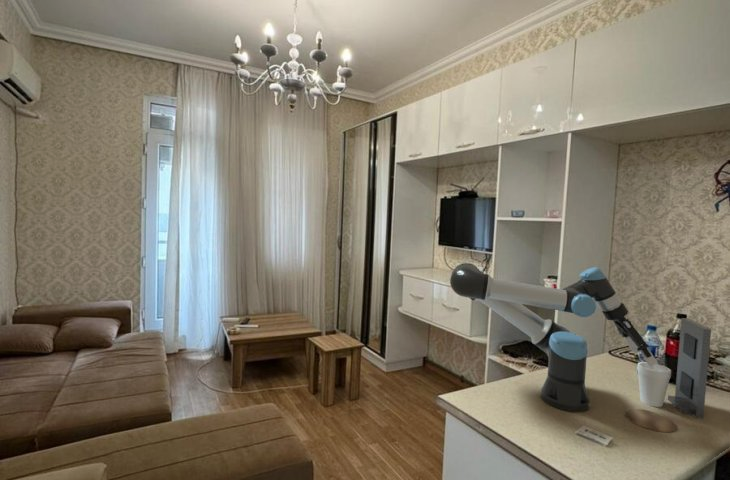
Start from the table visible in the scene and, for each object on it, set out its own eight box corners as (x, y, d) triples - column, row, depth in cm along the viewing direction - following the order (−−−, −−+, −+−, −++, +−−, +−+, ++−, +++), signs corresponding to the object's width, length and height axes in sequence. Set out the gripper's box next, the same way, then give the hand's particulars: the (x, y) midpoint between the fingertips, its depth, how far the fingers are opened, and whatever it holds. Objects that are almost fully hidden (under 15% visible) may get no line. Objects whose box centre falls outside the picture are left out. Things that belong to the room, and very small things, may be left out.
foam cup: (634, 393, 141) (636, 360, 140) (665, 400, 136) (668, 365, 135) (636, 404, 132) (639, 368, 132) (670, 412, 128) (673, 374, 127)
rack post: (685, 415, 125) (692, 327, 123) (665, 396, 139) (671, 317, 137) (703, 418, 124) (711, 329, 122) (681, 399, 137) (688, 318, 135)
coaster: (634, 427, 117) (634, 425, 117) (619, 407, 130) (619, 406, 130) (684, 435, 113) (684, 434, 113) (664, 414, 126) (664, 412, 126)
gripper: (635, 309, 126) (673, 365, 124) (610, 295, 150) (641, 343, 148) (613, 319, 128) (649, 375, 126) (592, 304, 152) (622, 351, 150)
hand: (645, 358), depth 137 cm, fingers open, 13 cm apart
